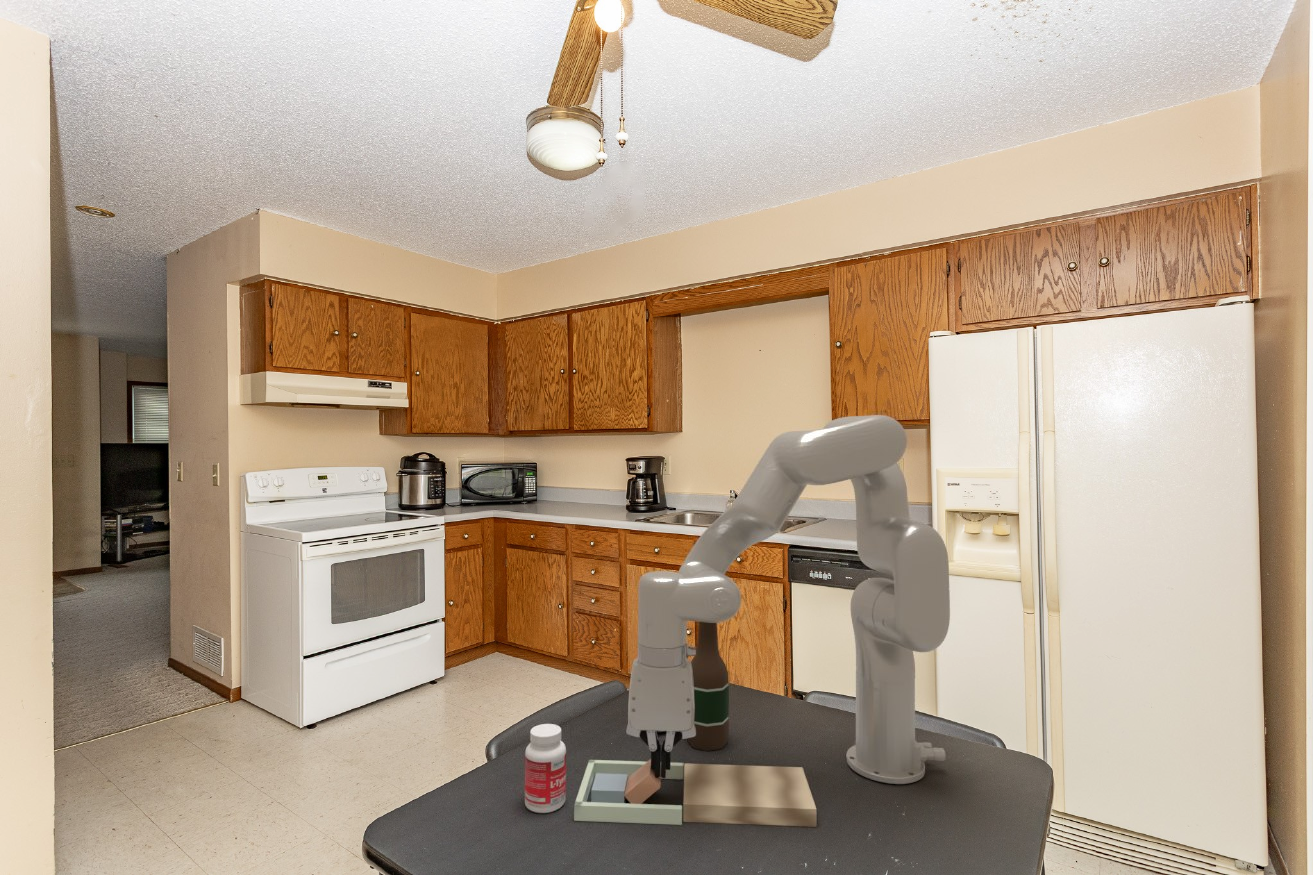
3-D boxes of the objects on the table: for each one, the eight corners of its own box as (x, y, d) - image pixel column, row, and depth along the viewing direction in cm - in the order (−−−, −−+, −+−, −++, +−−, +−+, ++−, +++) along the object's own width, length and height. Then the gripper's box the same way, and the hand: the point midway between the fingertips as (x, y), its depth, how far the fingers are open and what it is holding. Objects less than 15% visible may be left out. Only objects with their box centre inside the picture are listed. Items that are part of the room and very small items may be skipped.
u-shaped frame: (683, 776, 106) (683, 762, 106) (681, 824, 92) (681, 809, 92) (589, 772, 107) (589, 759, 107) (574, 820, 93) (574, 805, 93)
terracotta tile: (661, 770, 101) (651, 758, 101) (660, 787, 96) (649, 774, 96) (637, 790, 101) (627, 778, 102) (635, 808, 96) (624, 795, 97)
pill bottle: (554, 817, 94) (554, 741, 94) (517, 810, 96) (517, 735, 96) (572, 795, 100) (572, 724, 100) (537, 789, 102) (537, 718, 102)
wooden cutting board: (802, 782, 104) (802, 767, 104) (816, 826, 92) (816, 809, 92) (684, 778, 105) (684, 763, 105) (683, 821, 93) (683, 804, 93)
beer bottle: (728, 733, 122) (728, 606, 122) (728, 752, 114) (729, 616, 114) (687, 731, 123) (687, 604, 123) (684, 750, 115) (685, 615, 115)
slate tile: (596, 773, 102) (596, 789, 102) (591, 790, 97) (591, 806, 97) (627, 774, 102) (627, 790, 102) (624, 791, 97) (624, 807, 97)
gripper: (709, 647, 103) (708, 763, 102) (616, 644, 103) (615, 760, 103) (711, 663, 95) (710, 788, 95) (610, 660, 96) (609, 784, 96)
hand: (660, 773), depth 99 cm, fingers closed
